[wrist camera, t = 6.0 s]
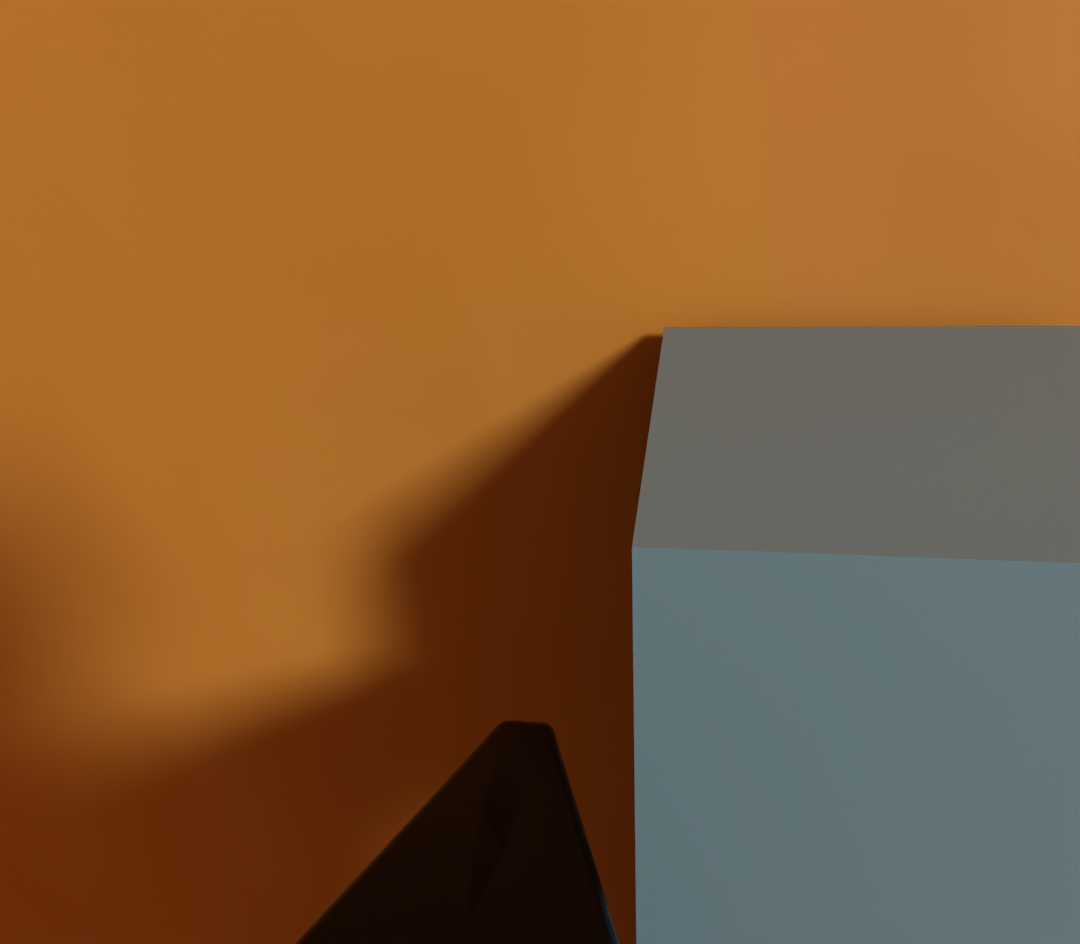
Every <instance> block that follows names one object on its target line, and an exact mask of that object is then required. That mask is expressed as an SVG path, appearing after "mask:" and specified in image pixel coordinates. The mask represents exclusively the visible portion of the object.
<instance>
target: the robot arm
mask: <svg viewBox="0 0 1080 944" xmlns="http://www.w3.org/2000/svg"><path fill="white" fill-rule="evenodd" d="M296 944H619V941H618V938H617V935H616V931H615V928H614V925H613V922H612V918H611V915H610V912H609V909H608V905H607V902H606V899H605V896H604V892H603V889H602V886H601V883H600V879H599V876H598V873H597V870H596V866H595V863H594V860H593V857H592V853H591V850H590V847H589V844H588V840H587V837H586V834H585V830H584V827H583V824H582V821H581V817H580V814H579V811H578V808H577V804H576V801H575V798H574V795H573V791H572V788H571V785H570V782H569V778H568V775H567V772H566V769H565V765H564V762H563V759H562V756H561V752H560V749H559V746H558V743H557V739H556V736H555V733H554V730H553V728H552V727H551V726H550V725H549V724H548V723H542V722H527V721H511V720H509V721H504V722H502V723H501V724H499V725H498V726H497V727H496V728H495V729H494V730H493V731H492V733H491V734H490V735H489V736H488V737H487V738H486V739H485V740H484V741H483V742H482V743H481V744H480V745H479V747H478V748H477V749H476V750H475V751H474V752H473V753H472V754H471V755H470V756H469V757H468V758H467V760H466V761H465V762H464V763H463V764H462V765H461V766H460V767H459V768H458V769H457V770H456V771H455V772H454V774H453V775H452V776H451V777H450V778H449V779H448V780H447V781H446V782H445V783H444V784H443V785H442V786H441V788H440V789H439V790H438V791H437V792H436V793H435V794H434V795H433V796H432V797H431V798H430V799H429V800H428V802H427V803H426V804H425V805H424V806H423V807H422V808H421V809H420V810H419V811H418V812H417V813H416V814H415V816H414V817H413V818H412V819H411V820H410V821H409V822H408V823H407V824H406V825H405V826H404V827H403V828H402V830H401V831H400V832H399V833H398V834H397V835H396V836H395V837H394V838H393V839H392V840H391V841H390V842H389V844H388V845H387V846H386V847H385V848H384V849H383V850H382V851H381V852H380V853H379V854H378V855H377V856H376V858H375V859H374V860H373V861H372V862H371V863H370V864H369V865H368V866H367V867H366V868H365V869H364V870H363V872H362V873H361V874H360V875H359V876H358V877H357V878H356V879H355V880H354V881H353V882H352V883H351V884H350V886H349V887H348V888H347V889H346V890H345V891H344V892H343V893H342V894H341V895H340V896H339V897H338V898H337V900H336V901H335V902H334V903H333V904H332V905H331V906H330V907H329V908H328V909H327V910H326V911H325V912H324V914H323V915H322V916H321V917H320V918H319V919H318V920H317V921H316V922H315V923H314V924H313V925H312V926H311V928H310V929H309V930H308V931H307V932H306V933H305V934H304V935H303V936H302V937H301V938H300V939H299V940H298V942H297V943H296Z"/></svg>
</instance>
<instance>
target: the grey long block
mask: <svg viewBox="0 0 1080 944" xmlns="http://www.w3.org/2000/svg"><path fill="white" fill-rule="evenodd" d="M632 605H633V694H634V783H635V872H636V944H1080V326H972V327H664V332H663V339H662V346H661V352H660V359H659V366H658V373H657V379H656V386H655V393H654V400H653V407H652V413H651V420H650V427H649V434H648V441H647V447H646V454H645V461H644V468H643V475H642V481H641V488H640V495H639V502H638V509H637V515H636V522H635V529H634V536H633V543H632Z"/></svg>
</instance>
